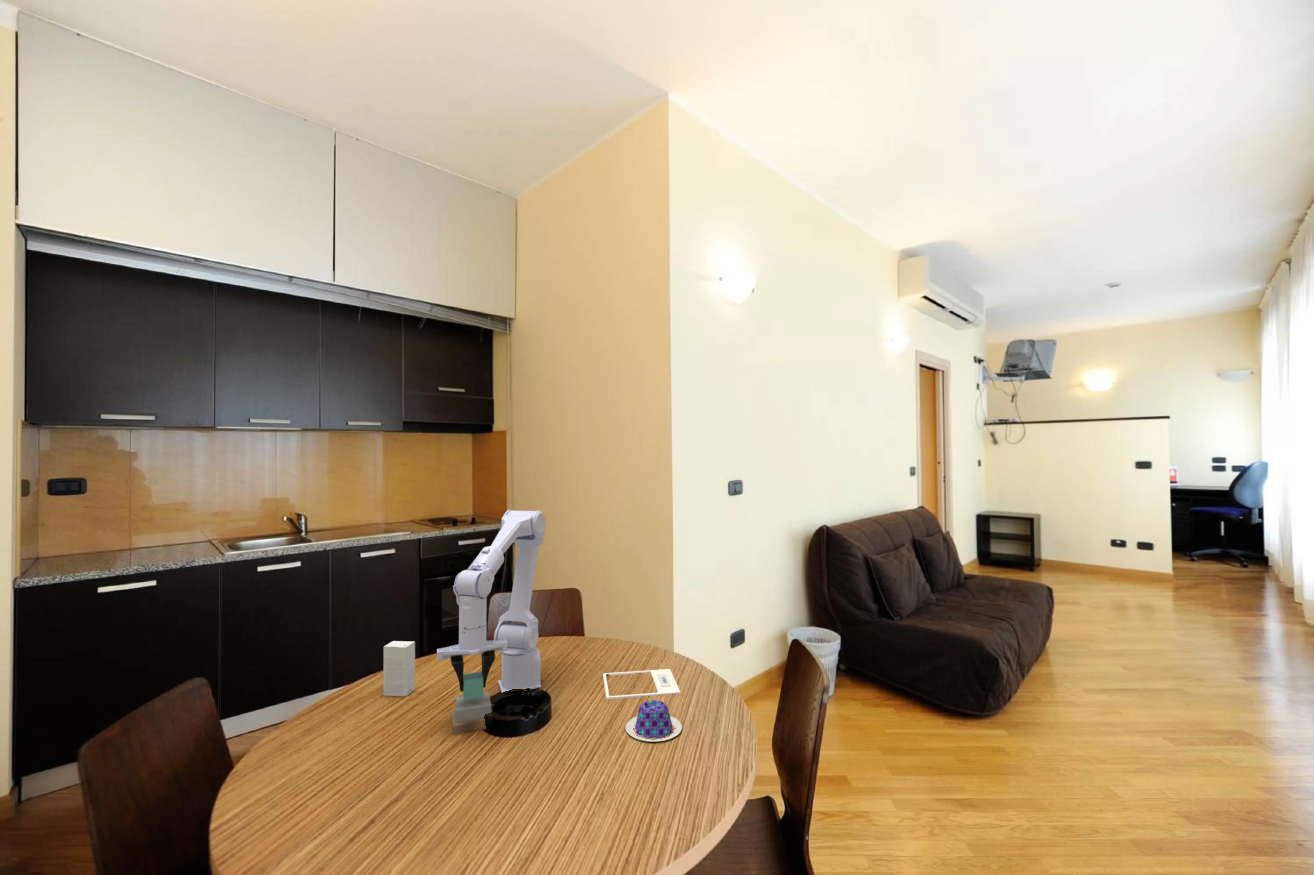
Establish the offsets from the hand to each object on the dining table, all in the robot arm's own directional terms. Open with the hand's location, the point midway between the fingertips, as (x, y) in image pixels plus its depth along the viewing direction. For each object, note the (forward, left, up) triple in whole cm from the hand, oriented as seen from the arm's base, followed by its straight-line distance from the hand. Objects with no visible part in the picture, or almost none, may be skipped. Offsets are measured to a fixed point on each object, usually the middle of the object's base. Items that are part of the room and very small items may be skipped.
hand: (472, 687), depth 120 cm
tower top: (0, 0, -6) cm, 6 cm away
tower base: (0, 0, -8) cm, 8 cm away
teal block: (0, 0, -1) cm, 1 cm away
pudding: (-35, +19, -8) cm, 41 cm away
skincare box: (+15, -23, -8) cm, 28 cm away
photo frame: (-41, -3, -8) cm, 42 cm away
